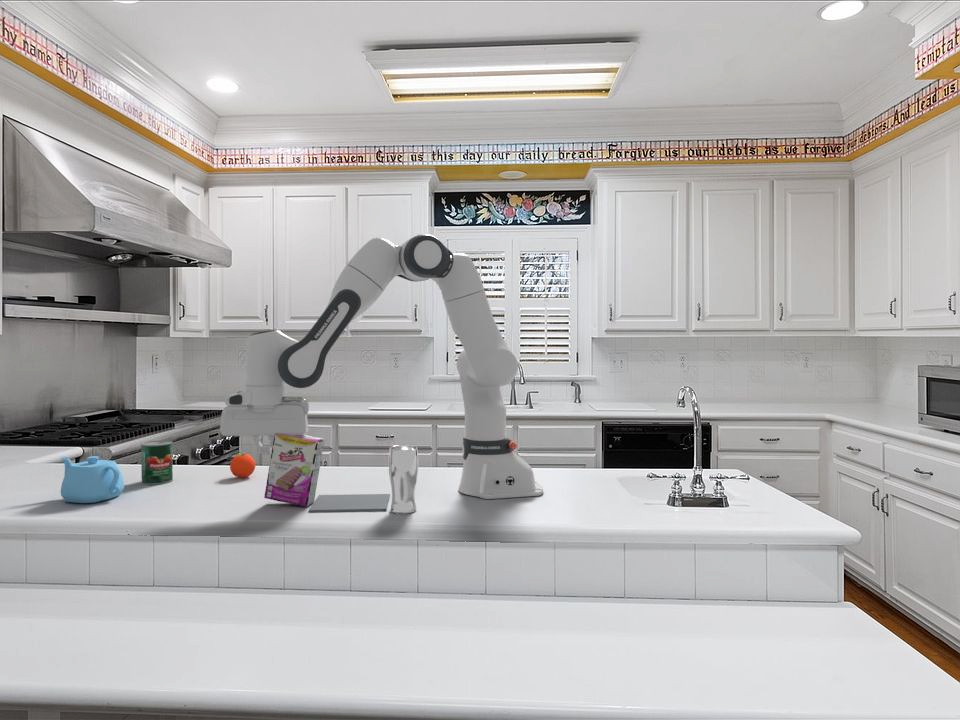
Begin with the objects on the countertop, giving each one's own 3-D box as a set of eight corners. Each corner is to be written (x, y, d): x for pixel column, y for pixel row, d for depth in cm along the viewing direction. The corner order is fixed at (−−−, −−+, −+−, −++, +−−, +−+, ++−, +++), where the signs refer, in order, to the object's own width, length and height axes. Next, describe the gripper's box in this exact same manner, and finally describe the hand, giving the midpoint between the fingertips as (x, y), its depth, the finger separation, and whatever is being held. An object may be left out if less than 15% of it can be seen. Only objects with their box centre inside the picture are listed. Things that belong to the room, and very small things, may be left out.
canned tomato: (155, 486, 173) (155, 445, 173) (134, 483, 176) (134, 443, 175) (179, 479, 180) (178, 441, 180) (158, 477, 183) (158, 439, 183)
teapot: (81, 450, 167) (138, 453, 163) (82, 490, 168) (138, 495, 163) (37, 459, 155) (96, 463, 151) (38, 502, 156) (97, 508, 151)
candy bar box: (263, 499, 153) (273, 432, 152) (271, 493, 158) (281, 429, 157) (307, 508, 152) (318, 441, 151) (314, 502, 157) (325, 437, 156)
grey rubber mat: (389, 495, 164) (389, 493, 164) (386, 510, 150) (386, 508, 150) (318, 496, 162) (319, 494, 162) (308, 512, 148) (308, 509, 148)
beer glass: (391, 506, 154) (391, 444, 153) (419, 506, 153) (420, 445, 153) (386, 514, 147) (386, 449, 146) (416, 514, 146) (416, 450, 146)
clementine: (223, 477, 184) (223, 453, 184) (245, 473, 189) (245, 449, 189) (237, 481, 179) (237, 456, 178) (260, 477, 184) (260, 453, 184)
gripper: (311, 395, 157) (311, 451, 158) (226, 395, 156) (226, 451, 156) (306, 398, 151) (306, 455, 151) (217, 398, 149) (218, 456, 150)
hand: (265, 453), depth 154 cm, fingers closed
